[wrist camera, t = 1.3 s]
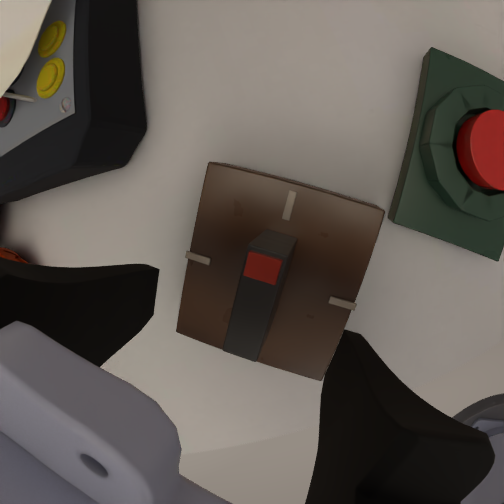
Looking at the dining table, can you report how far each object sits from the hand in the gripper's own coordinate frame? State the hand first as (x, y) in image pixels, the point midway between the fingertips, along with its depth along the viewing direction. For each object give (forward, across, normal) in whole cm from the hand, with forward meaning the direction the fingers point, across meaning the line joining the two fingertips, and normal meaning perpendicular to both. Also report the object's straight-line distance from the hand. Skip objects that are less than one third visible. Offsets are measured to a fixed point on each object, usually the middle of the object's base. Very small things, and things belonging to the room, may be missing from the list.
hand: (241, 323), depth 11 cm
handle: (+5, 0, 0) cm, 5 cm away
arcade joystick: (+8, +24, -13) cm, 28 cm away
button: (+5, -9, -9) cm, 14 cm away
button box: (+8, -9, -10) cm, 15 cm away
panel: (+8, 0, 0) cm, 8 cm away
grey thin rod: (+1, +17, -7) cm, 19 cm away
